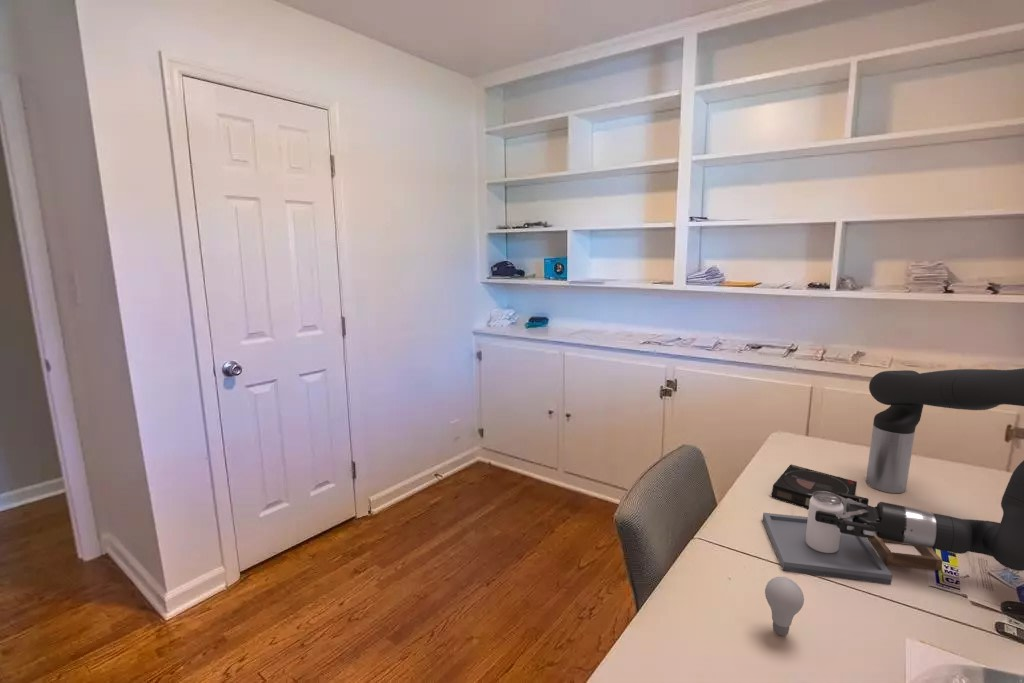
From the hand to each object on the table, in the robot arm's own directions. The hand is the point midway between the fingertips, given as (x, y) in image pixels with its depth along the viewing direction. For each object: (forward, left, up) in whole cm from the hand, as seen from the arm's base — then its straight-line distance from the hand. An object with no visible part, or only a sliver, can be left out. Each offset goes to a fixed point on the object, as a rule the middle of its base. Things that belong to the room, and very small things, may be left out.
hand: (815, 506), depth 116 cm
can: (+1, +2, -9) cm, 9 cm away
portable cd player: (-26, +8, -11) cm, 29 cm away
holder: (-2, +19, -10) cm, 21 cm away
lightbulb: (+29, -13, -10) cm, 34 cm away
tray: (0, +2, -10) cm, 10 cm away
